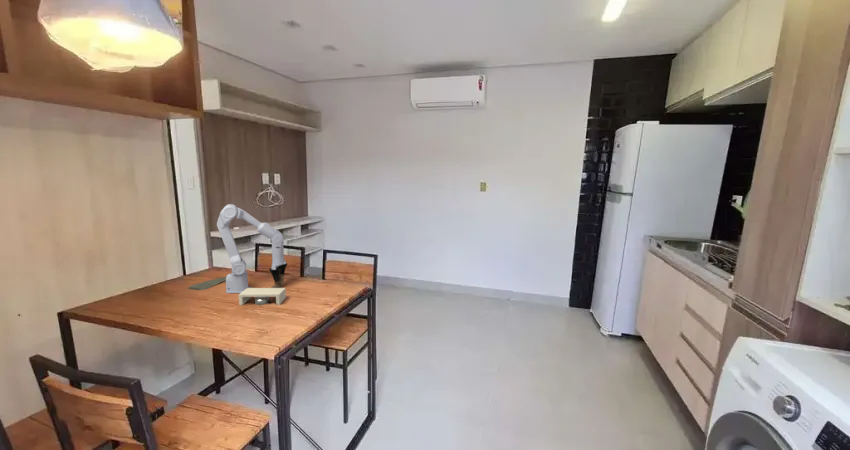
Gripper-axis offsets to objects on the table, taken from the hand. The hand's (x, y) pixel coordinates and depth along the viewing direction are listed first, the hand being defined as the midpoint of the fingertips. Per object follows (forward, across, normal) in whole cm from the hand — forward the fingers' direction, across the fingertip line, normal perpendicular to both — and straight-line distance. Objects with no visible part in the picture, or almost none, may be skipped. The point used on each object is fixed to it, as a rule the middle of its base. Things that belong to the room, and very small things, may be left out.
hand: (279, 279), depth 185 cm
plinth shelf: (+4, -22, 0) cm, 22 cm away
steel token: (+4, -24, 0) cm, 24 cm away
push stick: (+4, -7, 0) cm, 8 cm away
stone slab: (+4, +5, +37) cm, 38 cm away
